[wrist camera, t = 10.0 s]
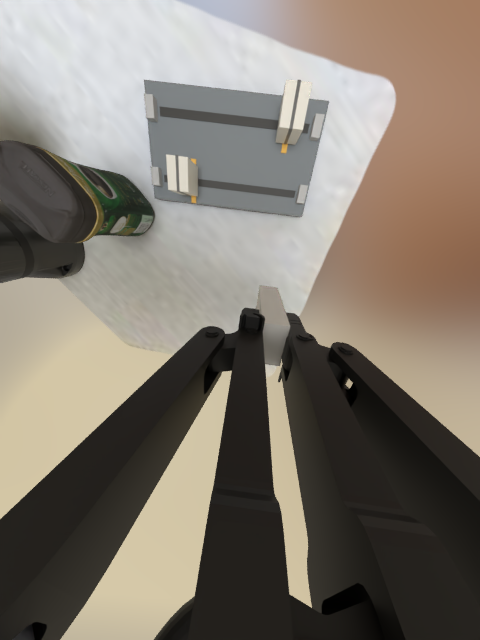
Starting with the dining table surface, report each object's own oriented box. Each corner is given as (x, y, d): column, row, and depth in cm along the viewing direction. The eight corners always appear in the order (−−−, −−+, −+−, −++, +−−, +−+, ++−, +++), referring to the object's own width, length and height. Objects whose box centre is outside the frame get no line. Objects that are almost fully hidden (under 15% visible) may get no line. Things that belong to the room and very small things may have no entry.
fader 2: (275, 143, 28) (279, 127, 23) (281, 103, 26) (286, 78, 21) (295, 145, 28) (302, 130, 23) (302, 106, 26) (312, 81, 21)
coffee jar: (97, 200, 35) (-42, 181, 19) (120, 166, 32) (-20, 107, 16) (138, 243, 38) (50, 258, 22) (162, 215, 35) (81, 208, 19)
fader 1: (180, 194, 32) (168, 190, 27) (179, 164, 30) (165, 153, 25) (197, 196, 32) (188, 192, 27) (197, 166, 30) (187, 156, 25)
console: (159, 199, 34) (151, 197, 31) (151, 89, 28) (139, 73, 25) (299, 216, 34) (303, 216, 31) (324, 109, 27) (332, 95, 24)
